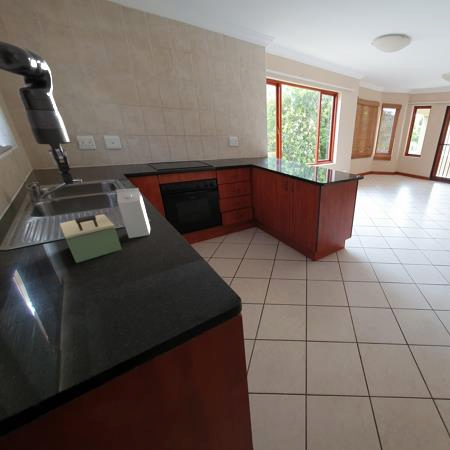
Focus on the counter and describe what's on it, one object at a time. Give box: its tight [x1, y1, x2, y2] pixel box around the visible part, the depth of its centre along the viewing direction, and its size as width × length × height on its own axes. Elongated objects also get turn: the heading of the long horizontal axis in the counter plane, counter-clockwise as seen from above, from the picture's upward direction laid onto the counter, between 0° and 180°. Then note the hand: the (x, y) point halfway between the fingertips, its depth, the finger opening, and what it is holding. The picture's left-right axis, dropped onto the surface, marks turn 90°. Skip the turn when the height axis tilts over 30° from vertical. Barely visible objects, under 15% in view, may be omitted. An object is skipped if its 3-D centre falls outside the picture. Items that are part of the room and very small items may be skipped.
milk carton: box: [115, 187, 151, 239], centre depth 94 cm, size 7×7×19 cm
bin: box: [65, 226, 122, 264], centre depth 85 cm, size 16×13×9 cm
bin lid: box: [59, 213, 115, 240], centre depth 82 cm, size 16×13×5 cm
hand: (69, 183), depth 78 cm, fingers closed
